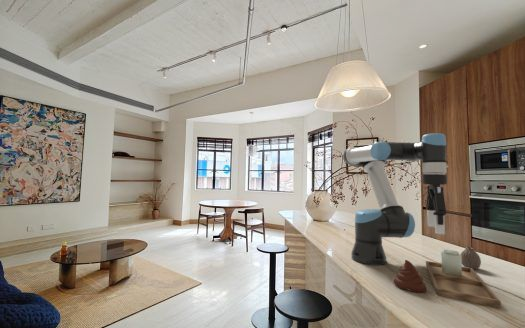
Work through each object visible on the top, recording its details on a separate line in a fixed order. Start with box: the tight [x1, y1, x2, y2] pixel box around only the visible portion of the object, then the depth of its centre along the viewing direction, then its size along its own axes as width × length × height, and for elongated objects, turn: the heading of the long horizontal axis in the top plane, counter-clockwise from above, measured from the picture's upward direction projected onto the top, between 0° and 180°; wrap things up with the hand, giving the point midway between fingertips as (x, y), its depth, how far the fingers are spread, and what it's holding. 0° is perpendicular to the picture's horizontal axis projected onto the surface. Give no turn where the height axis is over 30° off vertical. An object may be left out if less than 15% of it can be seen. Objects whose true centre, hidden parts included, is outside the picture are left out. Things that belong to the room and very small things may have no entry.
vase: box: [460, 246, 482, 271], centre depth 104 cm, size 7×7×9 cm
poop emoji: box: [392, 259, 427, 294], centre depth 84 cm, size 10×8×9 cm
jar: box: [440, 248, 463, 277], centre depth 95 cm, size 6×6×9 cm
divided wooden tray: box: [425, 260, 502, 309], centre depth 88 cm, size 16×31×2 cm, turn 150°
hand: (435, 230), depth 89 cm, fingers open, 13 cm apart
